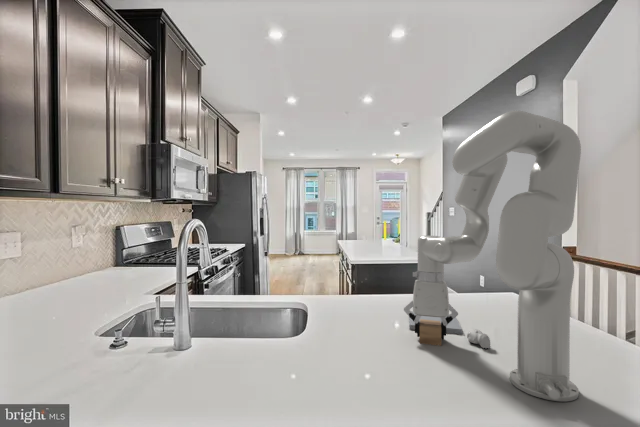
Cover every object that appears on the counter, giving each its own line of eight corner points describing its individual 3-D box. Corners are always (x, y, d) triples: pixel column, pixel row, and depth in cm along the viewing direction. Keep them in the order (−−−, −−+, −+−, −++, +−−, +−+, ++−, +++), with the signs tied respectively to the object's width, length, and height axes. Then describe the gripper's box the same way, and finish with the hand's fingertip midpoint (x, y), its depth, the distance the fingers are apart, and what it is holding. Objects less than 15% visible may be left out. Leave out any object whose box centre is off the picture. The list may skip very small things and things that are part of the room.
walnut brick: (441, 345, 96) (441, 328, 96) (419, 343, 97) (419, 326, 97) (440, 337, 102) (440, 321, 102) (420, 335, 104) (420, 319, 104)
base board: (461, 334, 105) (461, 329, 105) (409, 329, 109) (409, 324, 109) (454, 318, 121) (454, 314, 121) (409, 315, 125) (409, 311, 125)
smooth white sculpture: (465, 343, 101) (482, 338, 101) (477, 353, 93) (495, 348, 93) (461, 329, 101) (477, 324, 101) (472, 339, 93) (490, 333, 93)
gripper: (400, 277, 98) (400, 338, 98) (463, 280, 94) (463, 344, 94) (401, 273, 106) (400, 329, 106) (459, 276, 101) (459, 335, 101)
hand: (430, 336), depth 100 cm, fingers closed on walnut brick, 6 cm apart
